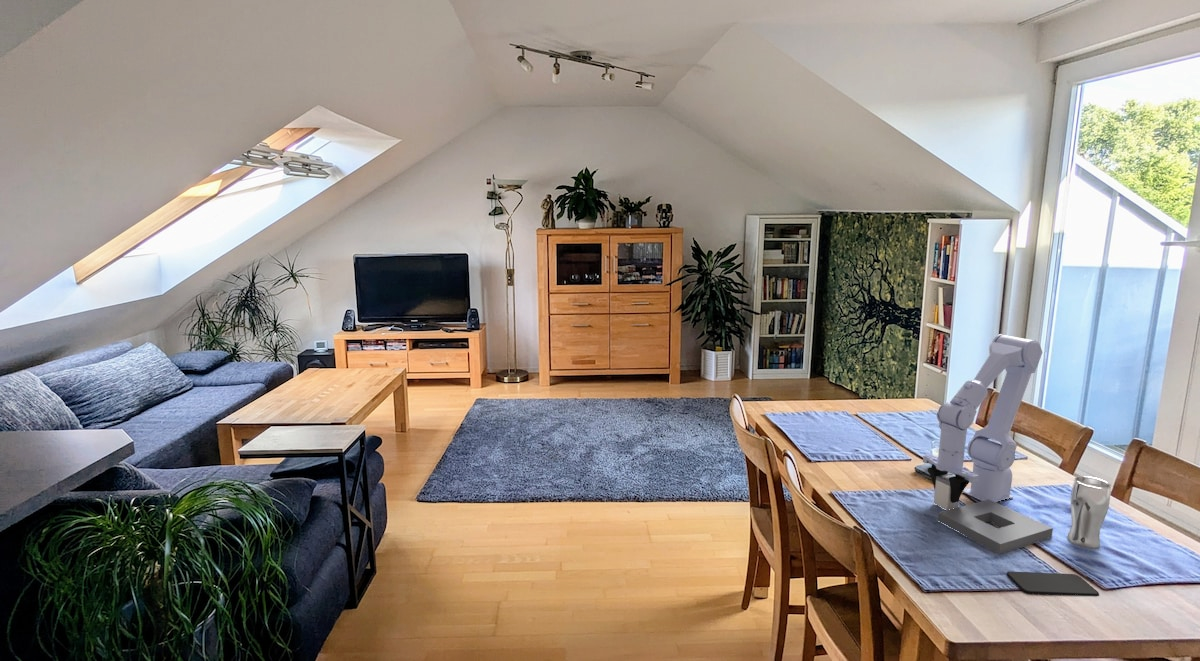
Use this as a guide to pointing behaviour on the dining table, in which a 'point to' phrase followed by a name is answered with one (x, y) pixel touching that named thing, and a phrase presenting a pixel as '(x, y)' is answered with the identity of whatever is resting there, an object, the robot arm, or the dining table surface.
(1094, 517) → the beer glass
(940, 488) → the plug
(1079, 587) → the smartphone
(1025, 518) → the socket
